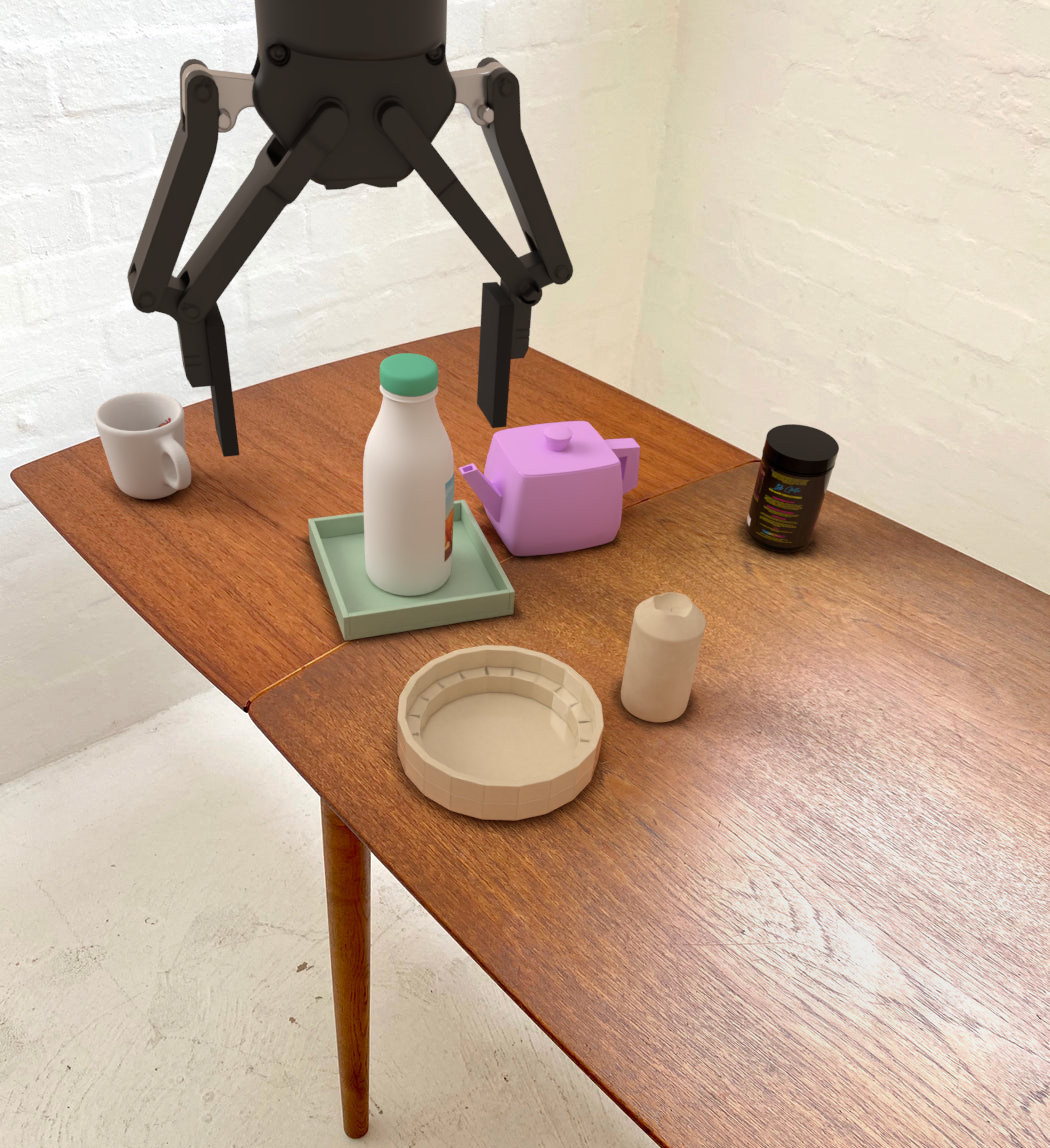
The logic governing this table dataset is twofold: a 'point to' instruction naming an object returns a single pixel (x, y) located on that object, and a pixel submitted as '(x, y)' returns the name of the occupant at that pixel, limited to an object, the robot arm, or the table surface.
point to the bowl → (499, 732)
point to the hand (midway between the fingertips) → (364, 429)
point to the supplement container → (790, 487)
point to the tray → (375, 612)
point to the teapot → (555, 486)
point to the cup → (145, 443)
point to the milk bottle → (408, 482)
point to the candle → (662, 657)
